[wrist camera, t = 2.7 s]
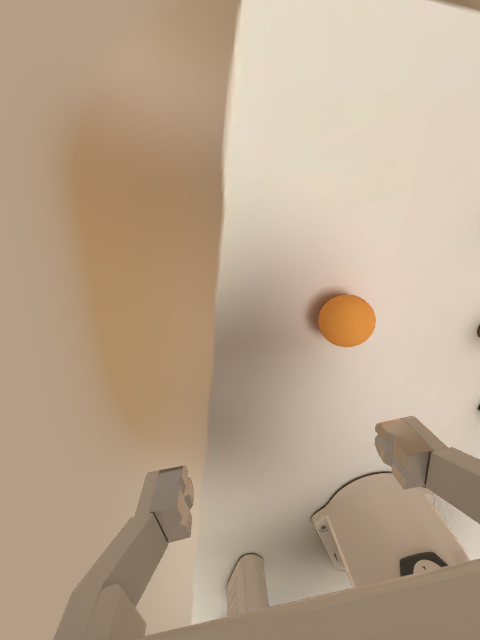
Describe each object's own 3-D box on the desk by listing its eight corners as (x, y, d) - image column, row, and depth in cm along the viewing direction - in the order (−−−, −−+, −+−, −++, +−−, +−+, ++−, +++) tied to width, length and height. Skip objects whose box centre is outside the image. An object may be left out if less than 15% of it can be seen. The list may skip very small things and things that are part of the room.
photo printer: (247, 588, 43) (258, 721, 31) (223, 587, 42) (225, 723, 30) (265, 553, 39) (284, 687, 28) (240, 551, 39) (249, 688, 27)
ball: (357, 328, 26) (387, 349, 22) (313, 338, 26) (333, 361, 22) (356, 284, 25) (388, 297, 20) (308, 295, 25) (330, 310, 20)
